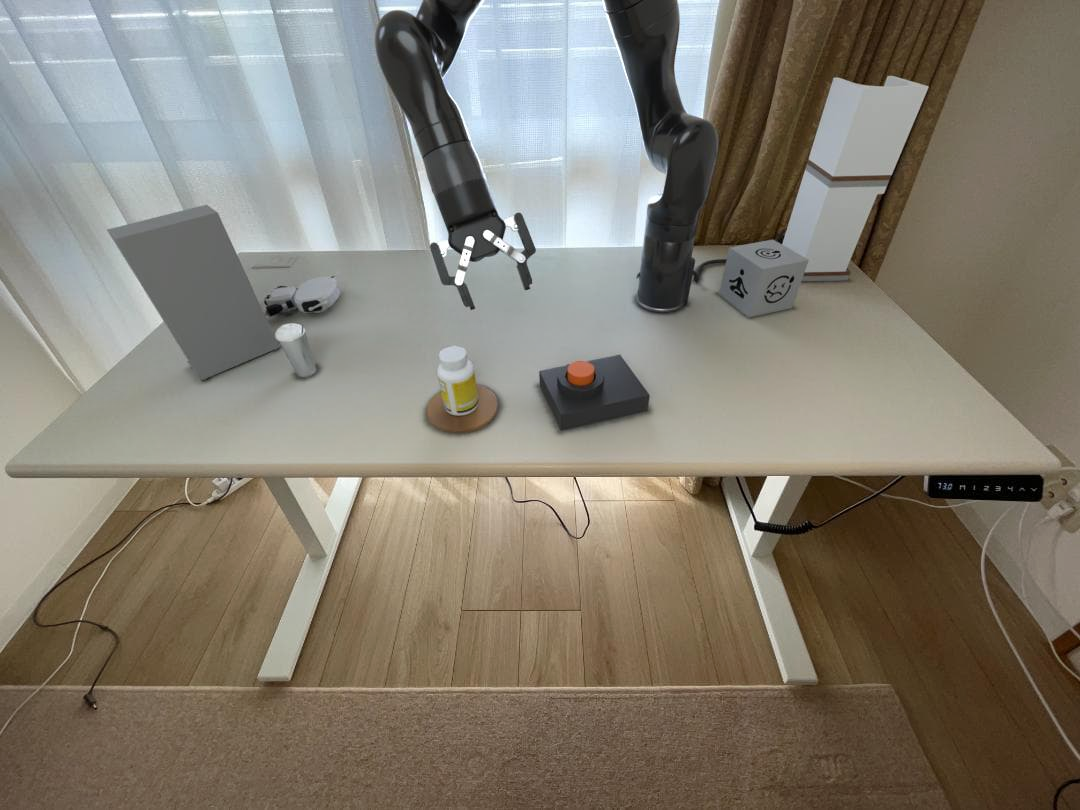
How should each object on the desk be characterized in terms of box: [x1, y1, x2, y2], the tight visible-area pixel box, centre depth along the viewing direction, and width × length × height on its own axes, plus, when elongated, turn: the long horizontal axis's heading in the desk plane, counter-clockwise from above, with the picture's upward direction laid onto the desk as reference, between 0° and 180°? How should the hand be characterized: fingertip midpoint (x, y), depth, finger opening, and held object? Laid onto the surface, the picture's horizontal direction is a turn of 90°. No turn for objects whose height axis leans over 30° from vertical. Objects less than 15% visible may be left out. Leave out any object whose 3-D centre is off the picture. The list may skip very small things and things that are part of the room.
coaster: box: [426, 384, 499, 434], centre depth 76 cm, size 11×11×1 cm
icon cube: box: [718, 239, 809, 318], centre depth 96 cm, size 10×10×10 cm
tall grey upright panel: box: [106, 204, 281, 381], centre depth 81 cm, size 14×6×25 cm, turn 135°
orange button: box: [568, 360, 594, 386], centre depth 74 cm, size 4×4×2 cm
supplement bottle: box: [436, 345, 479, 416], centre depth 73 cm, size 5×5×10 cm
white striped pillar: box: [781, 75, 929, 282], centre depth 97 cm, size 11×11×35 cm
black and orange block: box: [538, 354, 651, 431], centre depth 76 cm, size 14×11×5 cm
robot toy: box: [262, 273, 341, 318], centre depth 101 cm, size 12×4×15 cm
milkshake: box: [274, 322, 317, 378], centre depth 82 cm, size 4×5×10 cm
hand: (500, 299), depth 72 cm, fingers open, 8 cm apart
